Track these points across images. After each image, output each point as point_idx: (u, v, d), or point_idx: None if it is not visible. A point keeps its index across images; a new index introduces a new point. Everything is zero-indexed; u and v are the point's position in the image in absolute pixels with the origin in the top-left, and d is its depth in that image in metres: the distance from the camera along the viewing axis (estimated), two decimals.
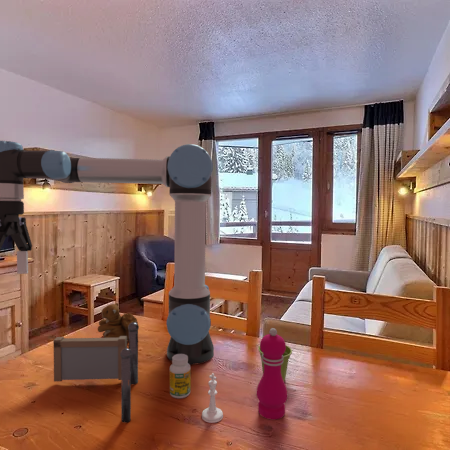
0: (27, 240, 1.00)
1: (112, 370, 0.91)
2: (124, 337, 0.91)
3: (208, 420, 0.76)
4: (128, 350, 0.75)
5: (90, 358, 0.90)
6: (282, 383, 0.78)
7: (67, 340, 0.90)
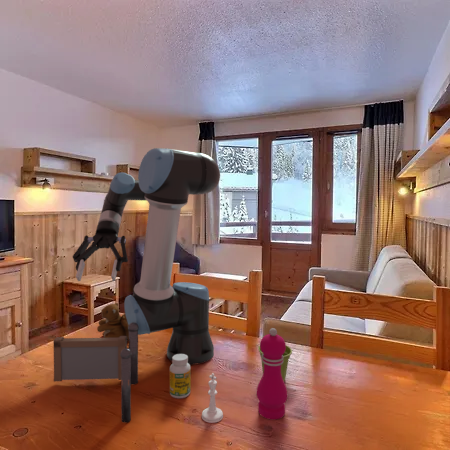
0: None
1: (112, 370, 0.91)
2: (124, 337, 0.91)
3: (208, 420, 0.76)
4: (128, 350, 0.75)
5: (90, 358, 0.90)
6: (282, 383, 0.78)
7: (67, 340, 0.90)
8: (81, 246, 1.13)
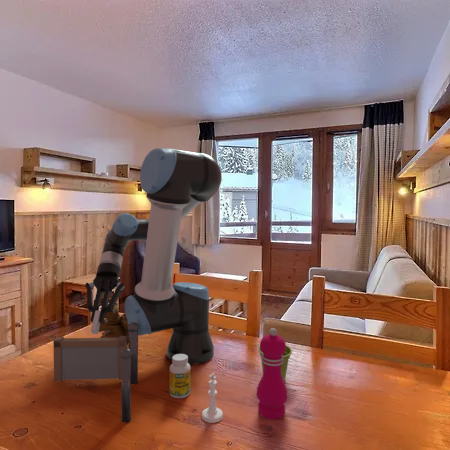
0: None
1: (112, 370, 0.91)
2: (124, 337, 0.91)
3: (208, 420, 0.76)
4: (128, 350, 0.75)
5: (90, 358, 0.90)
6: (282, 383, 0.78)
7: (67, 340, 0.90)
8: (89, 294, 1.09)
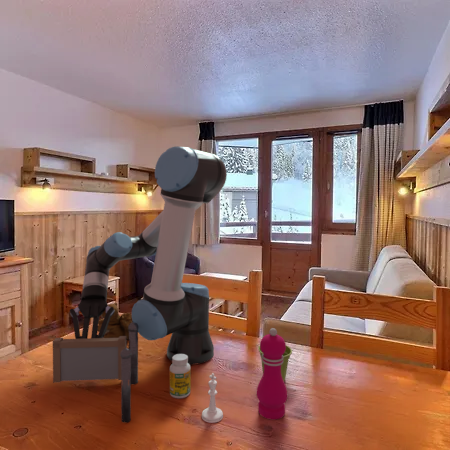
0: None
1: (112, 371, 0.91)
2: (124, 337, 0.91)
3: (208, 420, 0.76)
4: (128, 350, 0.75)
5: (90, 359, 0.90)
6: (282, 383, 0.78)
7: (66, 341, 0.89)
8: (75, 322, 0.99)
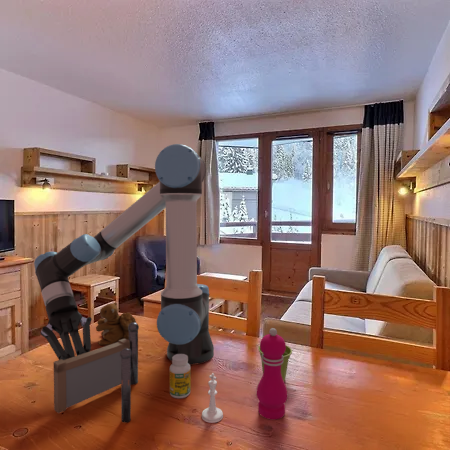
0: (85, 341, 0.90)
1: (117, 377, 0.88)
2: (125, 339, 0.90)
3: (208, 420, 0.76)
4: (128, 350, 0.75)
5: (96, 372, 0.83)
6: (282, 383, 0.78)
7: (72, 360, 0.78)
8: (55, 341, 0.85)
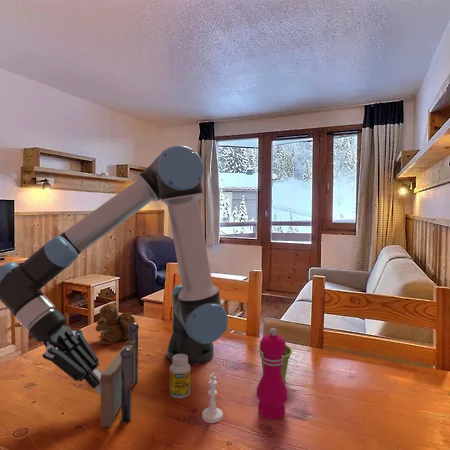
0: (89, 353, 0.83)
1: None
2: (130, 340, 0.89)
3: (208, 420, 0.76)
4: (128, 350, 0.75)
5: None
6: (282, 383, 0.78)
7: (114, 368, 0.75)
8: (68, 359, 0.75)
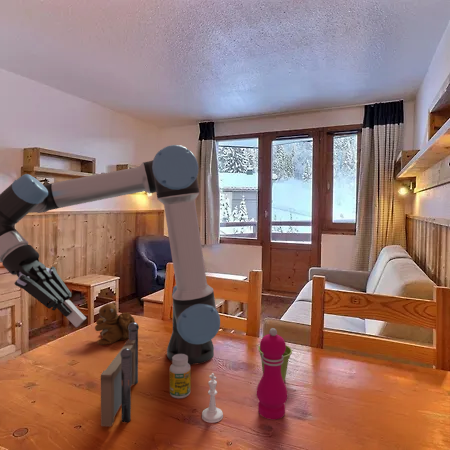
0: (62, 287, 0.86)
1: None
2: (130, 340, 0.89)
3: (208, 420, 0.76)
4: (128, 350, 0.75)
5: None
6: (282, 383, 0.78)
7: (114, 368, 0.75)
8: (40, 287, 0.79)
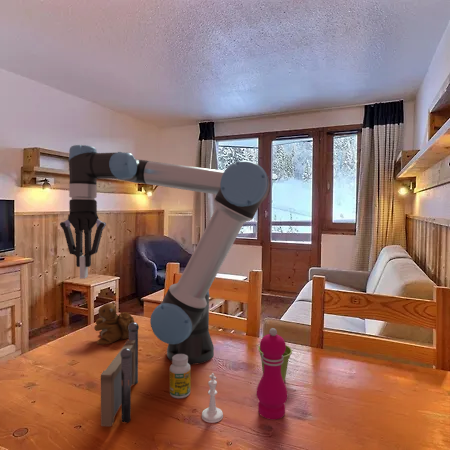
0: (93, 244, 1.00)
1: None
2: (130, 340, 0.89)
3: (208, 420, 0.76)
4: (128, 350, 0.75)
5: None
6: (282, 383, 0.78)
7: (114, 368, 0.75)
8: (67, 237, 0.99)
